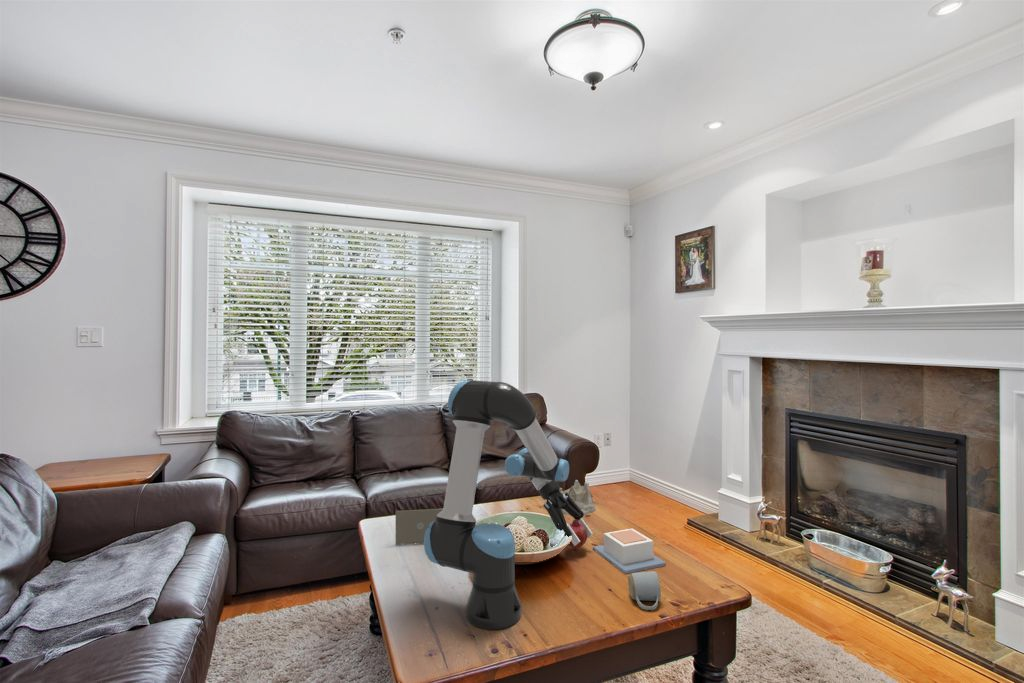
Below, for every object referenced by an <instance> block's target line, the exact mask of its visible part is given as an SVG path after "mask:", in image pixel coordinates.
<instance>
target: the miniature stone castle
mask: <svg viewBox="0 0 1024 683" xmlns="http://www.w3.org/2000/svg"><path fill="white" fill-rule="evenodd" d="M559 491H560V492H561V493H562V494H565V493H568V494H569V496H570V498H571V499H572V500H573V501H574V502H575V504H576V505H577V506H578V507H579V508H580V509H581V511H582V512H583V513H584V516H585V515H588V514H591V513H593V512H596V506H595V503H593V501H594V500H593V497H594V495H593V494H592V493H591V489H590V485H589V482H588V481H587V482H584V485H581V483H580V482H579V480H578V479H575V481H574V483H573V485H571V487H570V488H568V489H566V490H565V489H564V491H563V488H562V487H560V489H559ZM561 510H562V512H563V515H568V516H571V515H570V514H569V513H568V512H566V511H565V510H564V509H561Z"/></svg>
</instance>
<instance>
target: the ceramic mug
mask: <svg viewBox="0 0 1024 683" xmlns="http://www.w3.org/2000/svg"><path fill="white" fill-rule="evenodd" d="M627 578H628V579H627V583H628V584H627V585H628V591H629V595H630V598H631V599H632V600H633V601H636V602H637V605H638V606H639V607H640V608H641V610H645V611H648V610H651V611H654V610H655V609H656V608H657V607H658V604H659V601H660V600H661V597H662V590H661V589H662V588H661V582H660V579H659V575H658V573H657V572H656V571H655V570H652V571H637V572H633V573H629V575H628V577H627ZM641 601H650V602H651V601H653V602H655V603H654V604H653V605H652V606H649V605H645V604H643V603H642V602H641Z"/></svg>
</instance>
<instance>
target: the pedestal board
mask: <svg viewBox="0 0 1024 683" xmlns="http://www.w3.org/2000/svg"><path fill="white" fill-rule="evenodd" d="M593 549H594V550H596V551H597V552H598V553H599V554H600V555H599V554H598V553H597V552H596V551H595V552H596V553H597V554H598V555H599V556H601V555H602V556H603V557H604V558H603V557H602V556H601V557H602V558H603V559H605V558H606V559H607V560H608V561H607V560H606V559H605V560H606V561H607V562H609V561H610V562H611V563H612V564H611V563H610V562H609V563H610V564H611V565H613V566H614V565H615V566H616V567H615V566H614V567H615V568H616V569H618V570H619V571H621V572H622V573H623V574H624V575H627V574H631V573H636V572H643V571H645V570H646V571H647V570H651V569H656V568H661V567H665V566H666V565H667V563H666V561H664V560H662V559H661V558H659V557H658V556H656V555H655V554H654V540H652V539H650V538H649V537H647V536H645V535H644V534H642V533H641V532H639V531H637V530H636V529H634V528H627V529H620V530H615V531H610V532H604V533H603V544H600V545H596V546H594V545H593V546H592V550H593ZM594 550H593V551H594Z"/></svg>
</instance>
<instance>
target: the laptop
mask: <svg viewBox="0 0 1024 683" xmlns="http://www.w3.org/2000/svg"><path fill="white" fill-rule="evenodd" d="M442 510H443V508H430V509H428V508H427V509H409V510H396V511H395V546H403V545H402V544H413V545H418V544H417V543H424V537H425V533H426V530H427V528H429V524H430V523H431V522H433V521H435V520H436V517H437V514H438V513H440V512H441V511H442ZM415 543H416V544H415Z"/></svg>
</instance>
